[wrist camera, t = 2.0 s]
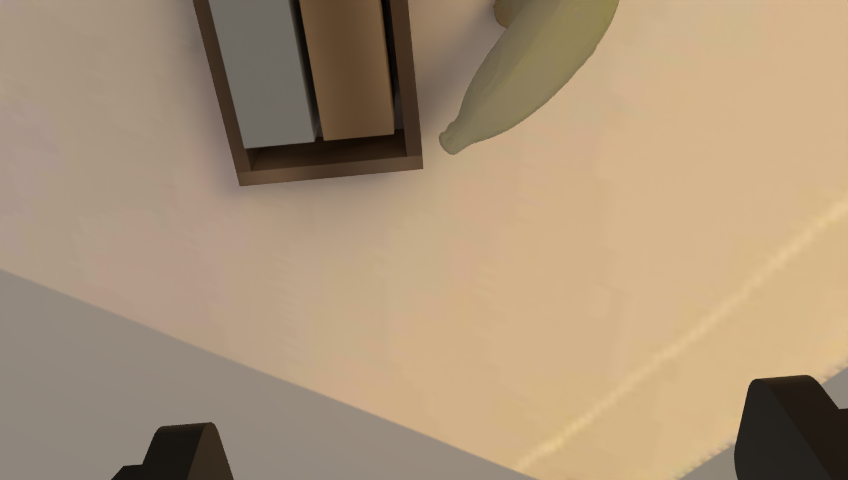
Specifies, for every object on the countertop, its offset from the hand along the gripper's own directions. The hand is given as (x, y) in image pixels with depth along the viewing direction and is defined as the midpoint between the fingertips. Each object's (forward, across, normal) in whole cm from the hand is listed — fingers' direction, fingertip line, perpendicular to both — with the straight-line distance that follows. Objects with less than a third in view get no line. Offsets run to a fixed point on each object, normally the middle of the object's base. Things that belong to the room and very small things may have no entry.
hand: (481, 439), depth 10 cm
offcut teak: (+30, +4, 0) cm, 31 cm away
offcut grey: (+30, +8, 0) cm, 31 cm away
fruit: (+30, -4, 0) cm, 31 cm away
